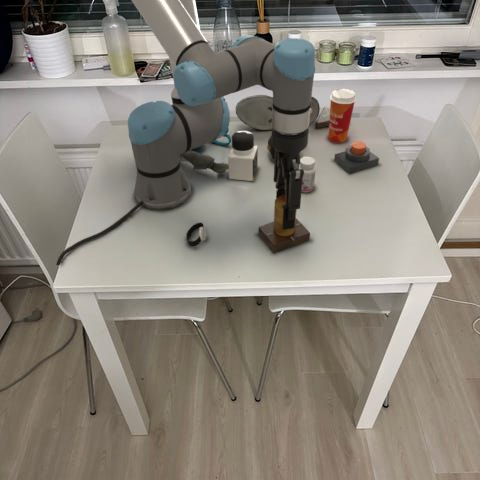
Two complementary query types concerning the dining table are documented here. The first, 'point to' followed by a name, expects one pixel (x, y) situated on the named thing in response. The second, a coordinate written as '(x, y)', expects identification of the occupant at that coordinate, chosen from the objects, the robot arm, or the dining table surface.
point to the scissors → (222, 142)
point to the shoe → (264, 111)
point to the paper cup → (340, 114)
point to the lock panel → (283, 237)
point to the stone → (323, 118)
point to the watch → (201, 234)
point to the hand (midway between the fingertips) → (284, 220)
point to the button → (358, 148)
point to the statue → (204, 162)
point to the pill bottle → (307, 173)
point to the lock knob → (281, 218)
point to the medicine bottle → (243, 157)
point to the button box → (356, 160)
